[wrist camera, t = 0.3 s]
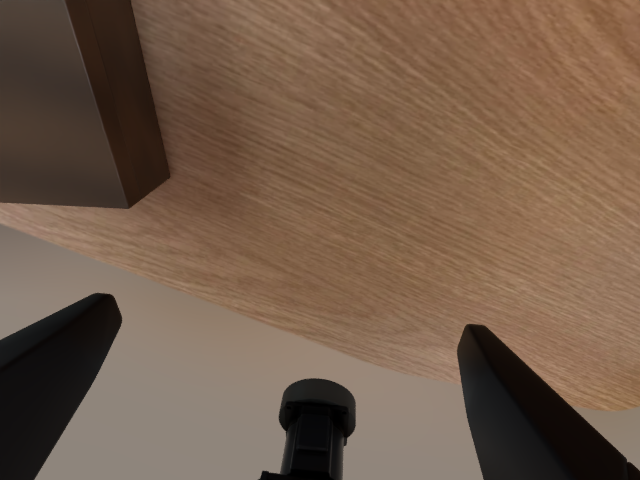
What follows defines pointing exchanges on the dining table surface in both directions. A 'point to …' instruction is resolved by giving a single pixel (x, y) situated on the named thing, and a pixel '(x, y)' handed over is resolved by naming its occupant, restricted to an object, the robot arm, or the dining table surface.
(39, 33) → the dark wooden box
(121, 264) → the dining table surface
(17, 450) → the robot arm
